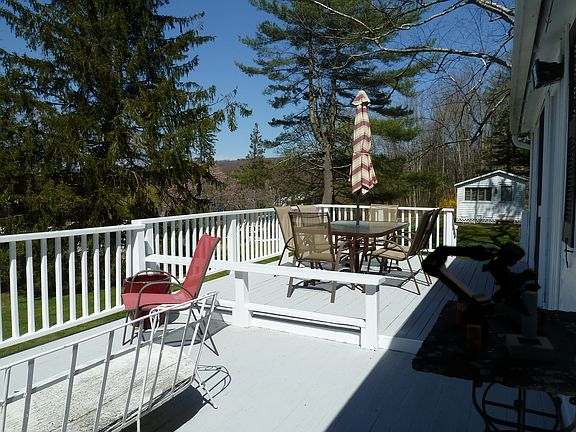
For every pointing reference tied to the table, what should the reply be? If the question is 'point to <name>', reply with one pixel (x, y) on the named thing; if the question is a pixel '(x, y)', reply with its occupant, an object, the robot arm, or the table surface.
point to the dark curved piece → (517, 315)
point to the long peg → (530, 322)
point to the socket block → (530, 348)
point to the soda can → (461, 313)
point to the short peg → (474, 338)
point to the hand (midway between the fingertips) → (533, 315)
